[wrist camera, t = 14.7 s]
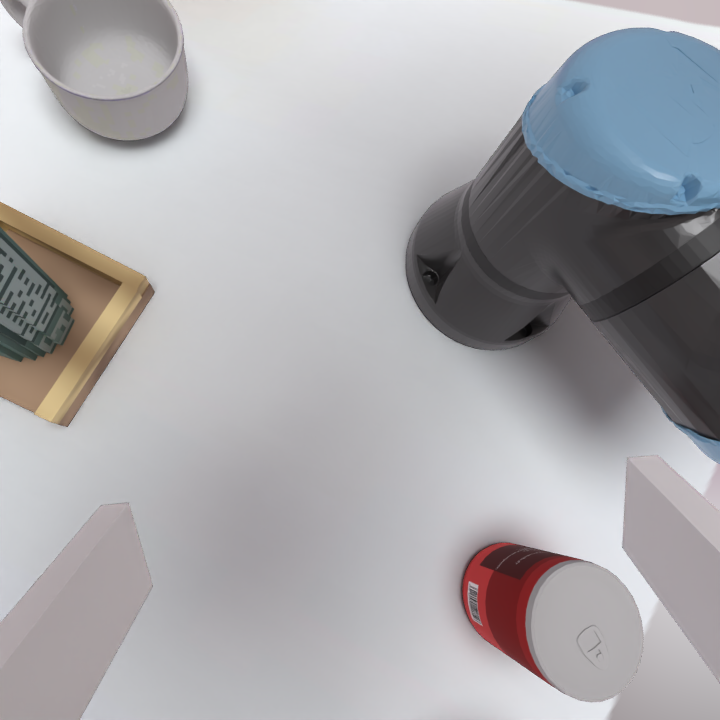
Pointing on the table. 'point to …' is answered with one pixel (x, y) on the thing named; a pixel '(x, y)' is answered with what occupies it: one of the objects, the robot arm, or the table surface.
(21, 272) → the can
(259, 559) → the table surface
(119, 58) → the teacup
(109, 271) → the tray
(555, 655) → the canned food
